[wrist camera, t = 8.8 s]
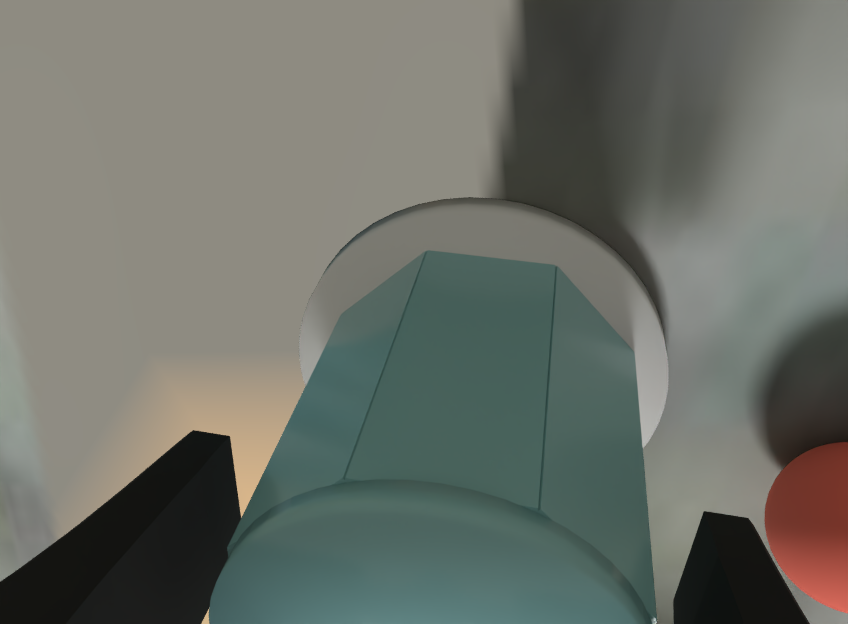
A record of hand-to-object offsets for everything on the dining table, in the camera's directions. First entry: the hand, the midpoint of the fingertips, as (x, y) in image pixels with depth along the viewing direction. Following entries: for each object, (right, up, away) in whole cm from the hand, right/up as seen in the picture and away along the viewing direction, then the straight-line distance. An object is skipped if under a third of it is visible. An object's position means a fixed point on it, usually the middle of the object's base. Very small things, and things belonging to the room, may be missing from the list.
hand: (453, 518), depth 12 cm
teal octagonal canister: (+1, +2, +3) cm, 3 cm away
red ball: (+7, -1, +2) cm, 8 cm away
